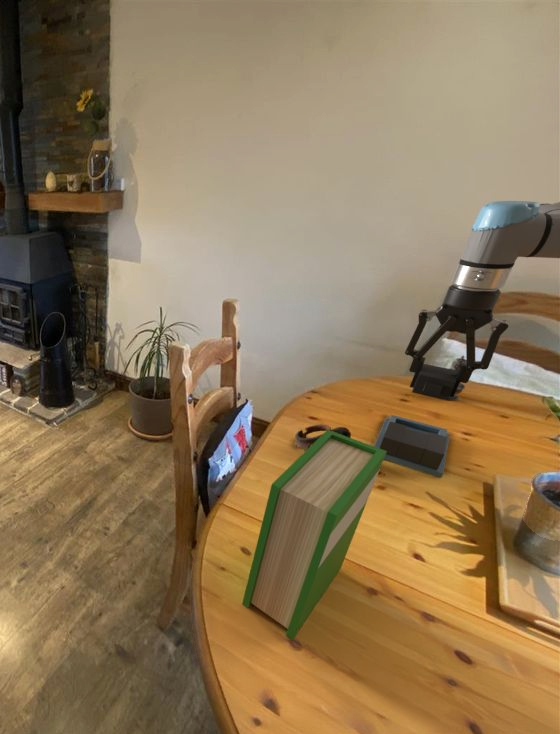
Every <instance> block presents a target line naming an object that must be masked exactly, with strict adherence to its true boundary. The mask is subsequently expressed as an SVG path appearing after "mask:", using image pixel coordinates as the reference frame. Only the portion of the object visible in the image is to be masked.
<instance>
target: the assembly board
mask: <svg viewBox="0 0 560 734" xmlns="http://www.w3.org/2000/svg"><path fill="white" fill-rule="evenodd" d="M450 436H451V434H450V433H448V429H447V428H443V427H439V426H436V425H432V424H428V423H425V422H420V421H417V420H413V419H410V418H405V417H401V416H397V415H394V414H391V415H390V417H385V419H384V421H383V424H382V426H381V429H380V431H379V433H378V436H377V438H376V441H375V443H374V447H377V448H379V449H382V450H385V451H387V452H386V455H385V457H384V460H383V461H386V462H387V461H388V462H389V463H393V464H395V465H400V466H402V467H404V468H405V467H406V468H409V469H412V470H415V471H419V472H422V473H424V474H427V475H430V476H434V477H437V478H441V479H442V477H443V475H444V471H445V465H446V460H447V454H448V448H449V443H450Z"/></svg>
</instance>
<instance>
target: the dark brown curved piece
mask: <svg viewBox="0 0 560 734" xmlns="http://www.w3.org/2000/svg"><path fill="white" fill-rule="evenodd" d="M304 429H305V431H303V430H298V431H297V432H296V433H295V436H294V437H295V442H294V445H295V447H296V448H298V449H301V450H303V451H304V452H305V451H306V450H307V449H308V448H309V447H310V446H311V445H312V444H313V443H314V442H315V441H317V440H318V439H319V438H320V437H321V436H322V435H323V434H324V433H325V432H326V431H327V430H330V431H333V432H335V433H338V434H341V435H344V436H346V437H349V438H352V433H351V431H350V430H349V428H347V427H345V426H339V427H338V426H337V427H335V428H332V427H331V426H330V425H328V424H323V423H322V424H314V425H310V426H306V427H305V428H304ZM317 432H323V433H321V434H319V435H316V436H313V437H307V435H309V434H313V433H317Z"/></svg>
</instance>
